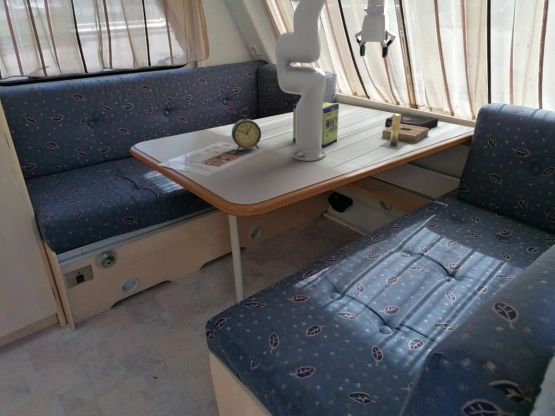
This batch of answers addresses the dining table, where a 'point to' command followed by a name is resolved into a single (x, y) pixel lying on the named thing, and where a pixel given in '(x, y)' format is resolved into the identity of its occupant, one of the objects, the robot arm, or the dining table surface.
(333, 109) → the protein box
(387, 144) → the mat
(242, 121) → the alarm clock
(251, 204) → the dining table surface
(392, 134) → the pin
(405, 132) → the block
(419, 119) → the portable cd player
